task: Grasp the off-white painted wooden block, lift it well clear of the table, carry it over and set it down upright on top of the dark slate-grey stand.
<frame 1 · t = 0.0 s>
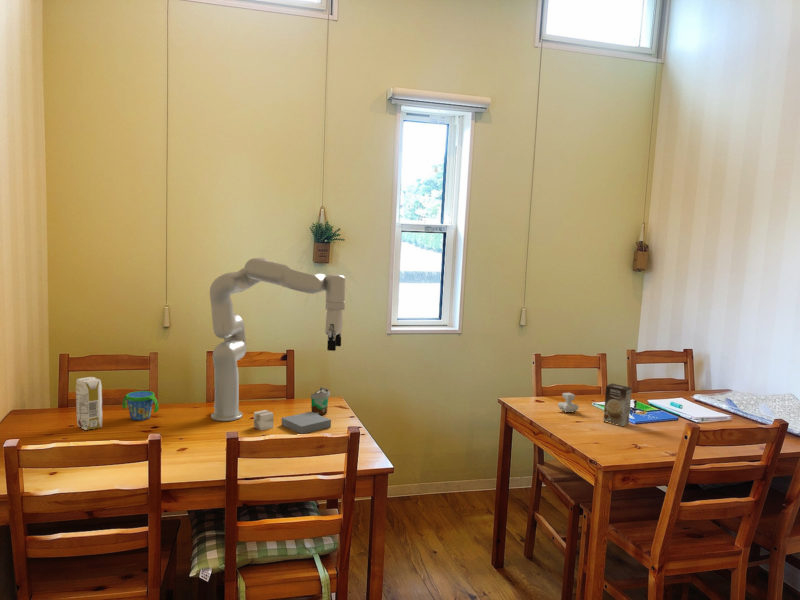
hand: (334, 348, 238), 31 cm above the table, tool pointing down, fingers open, 9 cm apart
block: (263, 427, 235), on the table
food container: (322, 414, 256), on the table
juice carton: (89, 428, 229), on the table
snack cup: (140, 418, 242), on the table
stamp: (567, 412, 269), on the table
coffee box: (616, 423, 255), on the table
stand: (306, 426, 238), on the table
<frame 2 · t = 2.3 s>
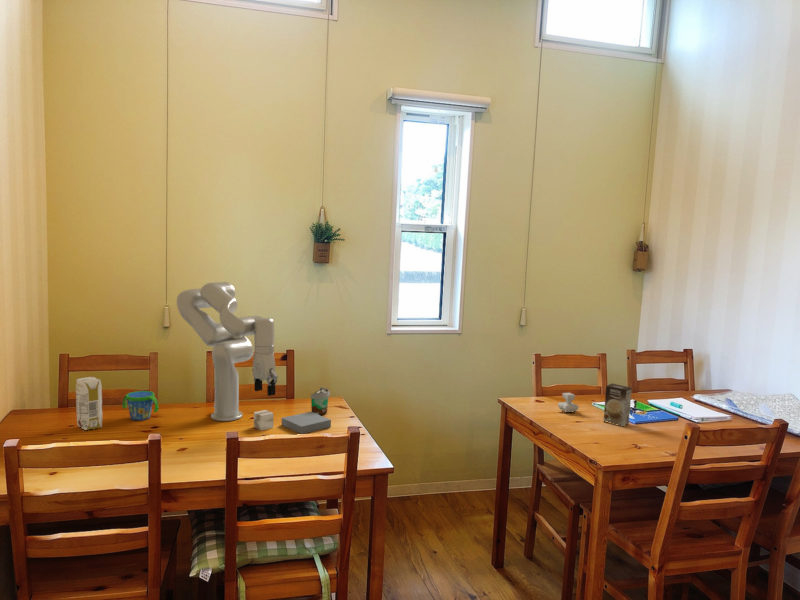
hand: (264, 392, 233), 14 cm above the table, tool pointing down, fingers open, 9 cm apart
nothing on the table moved.
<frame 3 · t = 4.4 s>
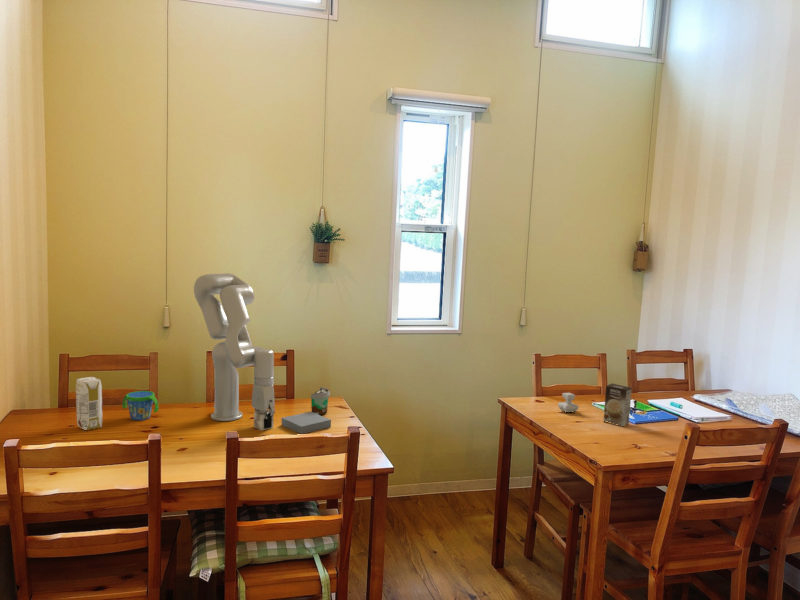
hand: (263, 425, 235), 1 cm above the table, tool pointing down, fingers closed on block, 5 cm apart
block: (263, 427, 235), on the table, touching gripper
everything else where it was.
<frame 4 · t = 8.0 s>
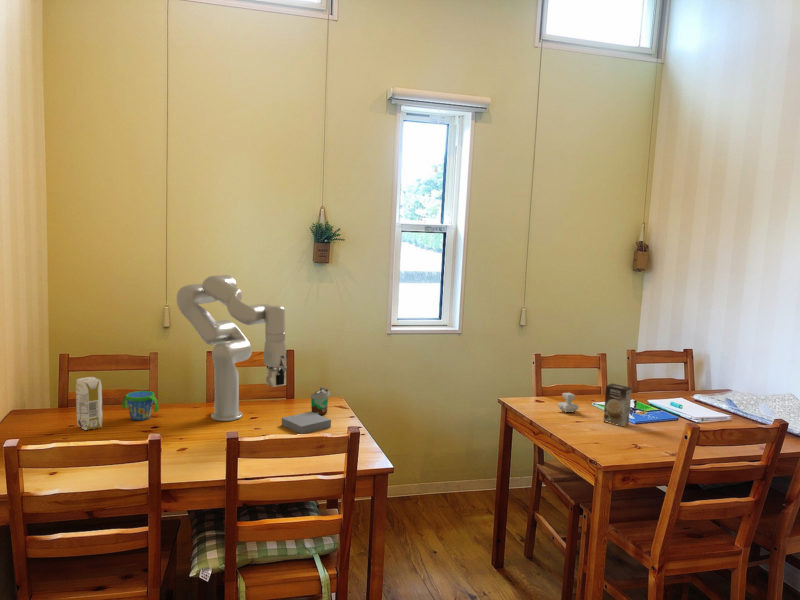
hand: (276, 382, 234), 18 cm above the table, tool pointing down, fingers closed on block, 5 cm apart
block: (275, 384, 234), point 17 cm above the table, touching gripper
everything else where it was.
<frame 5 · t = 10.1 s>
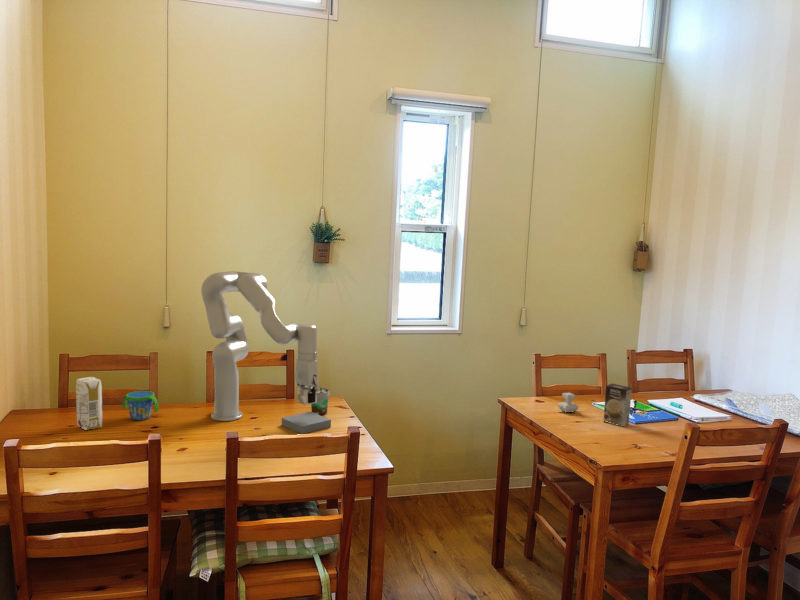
hand: (307, 400, 237), 10 cm above the table, tool pointing down, fingers closed on block, 5 cm apart
block: (307, 402, 237), point 10 cm above the table, touching gripper
everything else where it was.
when the fingers open (5 cm above the table, at t = 11.9 s): block drops 1 cm, resting on stand.
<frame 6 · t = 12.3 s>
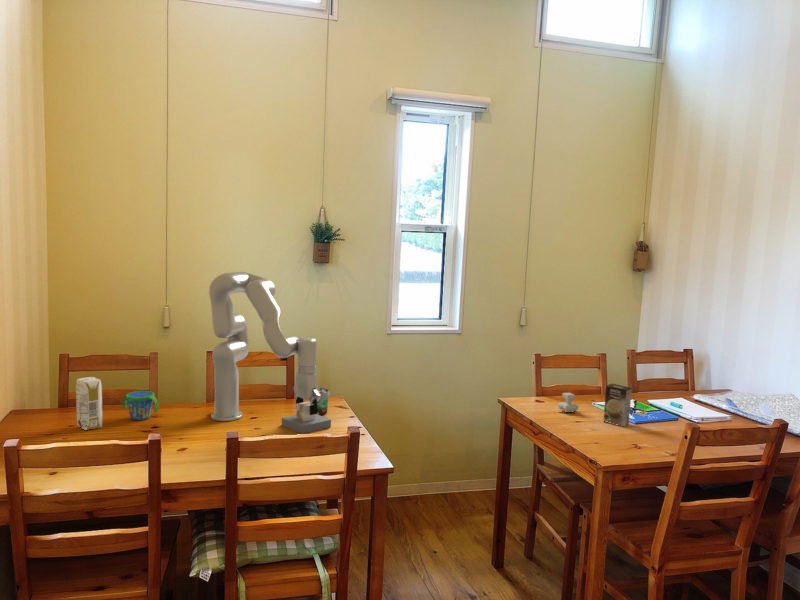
hand: (306, 411, 237), 6 cm above the table, tool pointing down, fingers open, 9 cm apart
block: (305, 418, 238), point 3 cm above the table, touching stand
everything else where it was.
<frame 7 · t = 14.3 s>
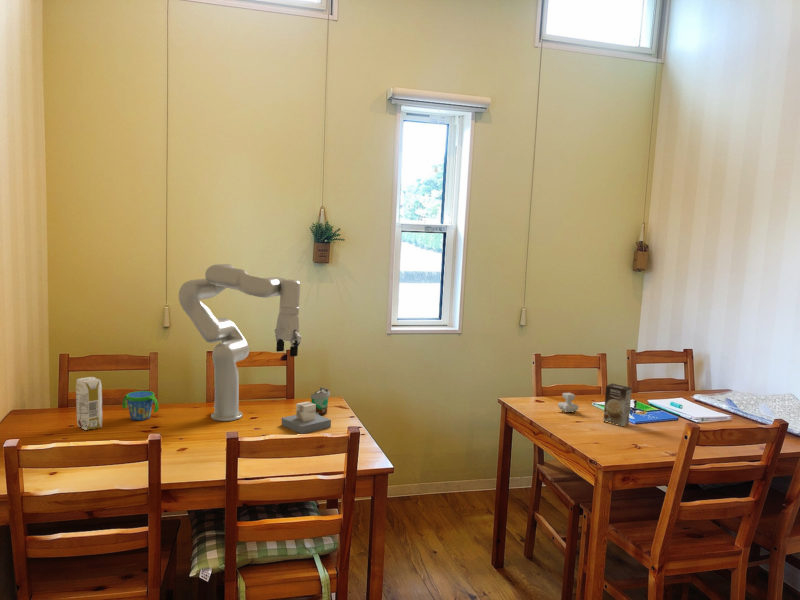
hand: (286, 353, 236), 29 cm above the table, tool pointing down, fingers open, 9 cm apart
nothing on the table moved.
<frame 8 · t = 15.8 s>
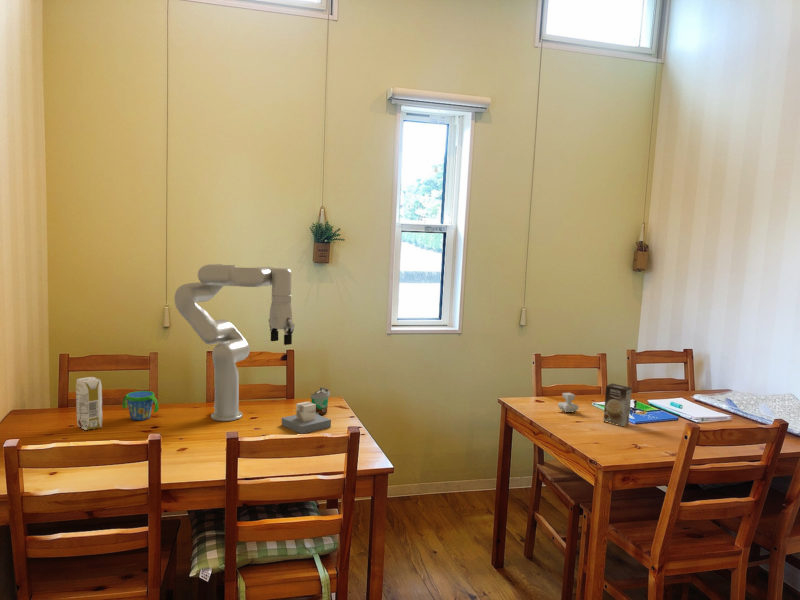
hand: (281, 342, 236), 33 cm above the table, tool pointing down, fingers open, 9 cm apart
nothing on the table moved.
at the end: block inside the target area on the stand (0.1 cm from its centre), point 3.0 cm above the stand's base; block tilted 0°; the gripper is holding nothing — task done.
